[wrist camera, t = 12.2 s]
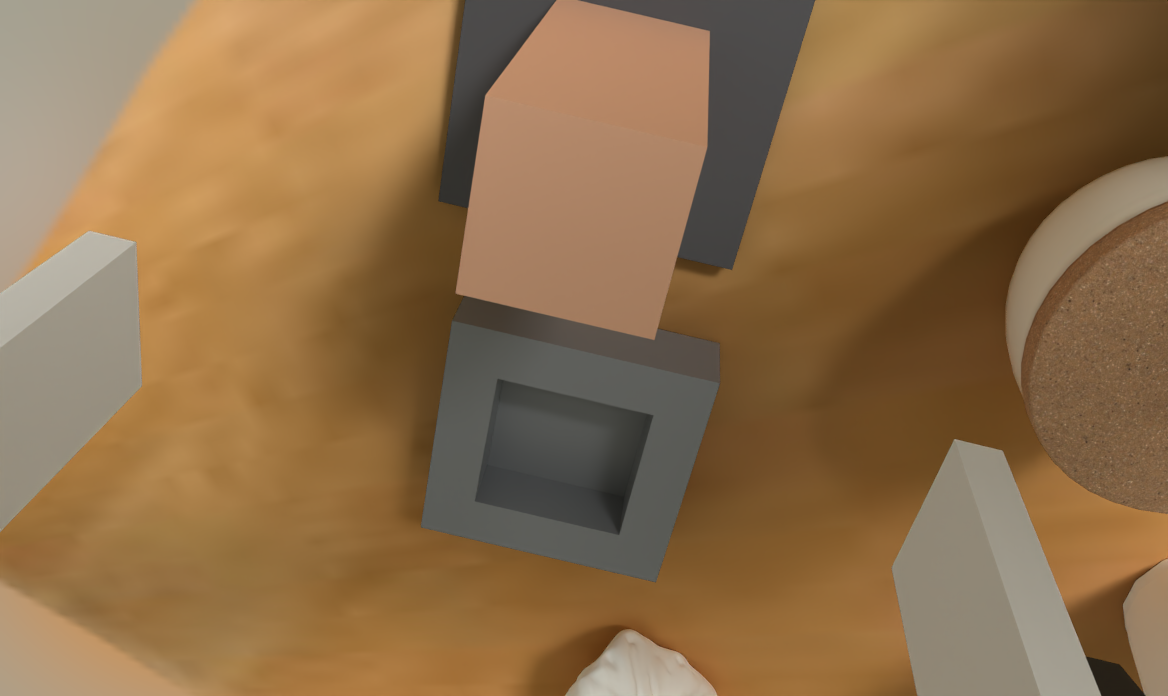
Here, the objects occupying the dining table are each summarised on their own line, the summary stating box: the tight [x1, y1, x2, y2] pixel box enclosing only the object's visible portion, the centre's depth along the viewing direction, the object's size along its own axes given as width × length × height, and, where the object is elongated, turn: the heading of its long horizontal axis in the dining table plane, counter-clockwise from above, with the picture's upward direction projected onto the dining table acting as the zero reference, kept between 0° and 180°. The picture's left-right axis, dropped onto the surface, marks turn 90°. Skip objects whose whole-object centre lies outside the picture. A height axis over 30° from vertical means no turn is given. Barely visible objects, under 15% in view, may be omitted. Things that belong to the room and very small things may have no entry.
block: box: [455, 0, 710, 340], centre depth 28 cm, size 5×5×12 cm
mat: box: [439, 0, 815, 270], centre depth 34 cm, size 11×11×1 cm
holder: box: [421, 296, 720, 582], centre depth 40 cm, size 10×10×3 cm
